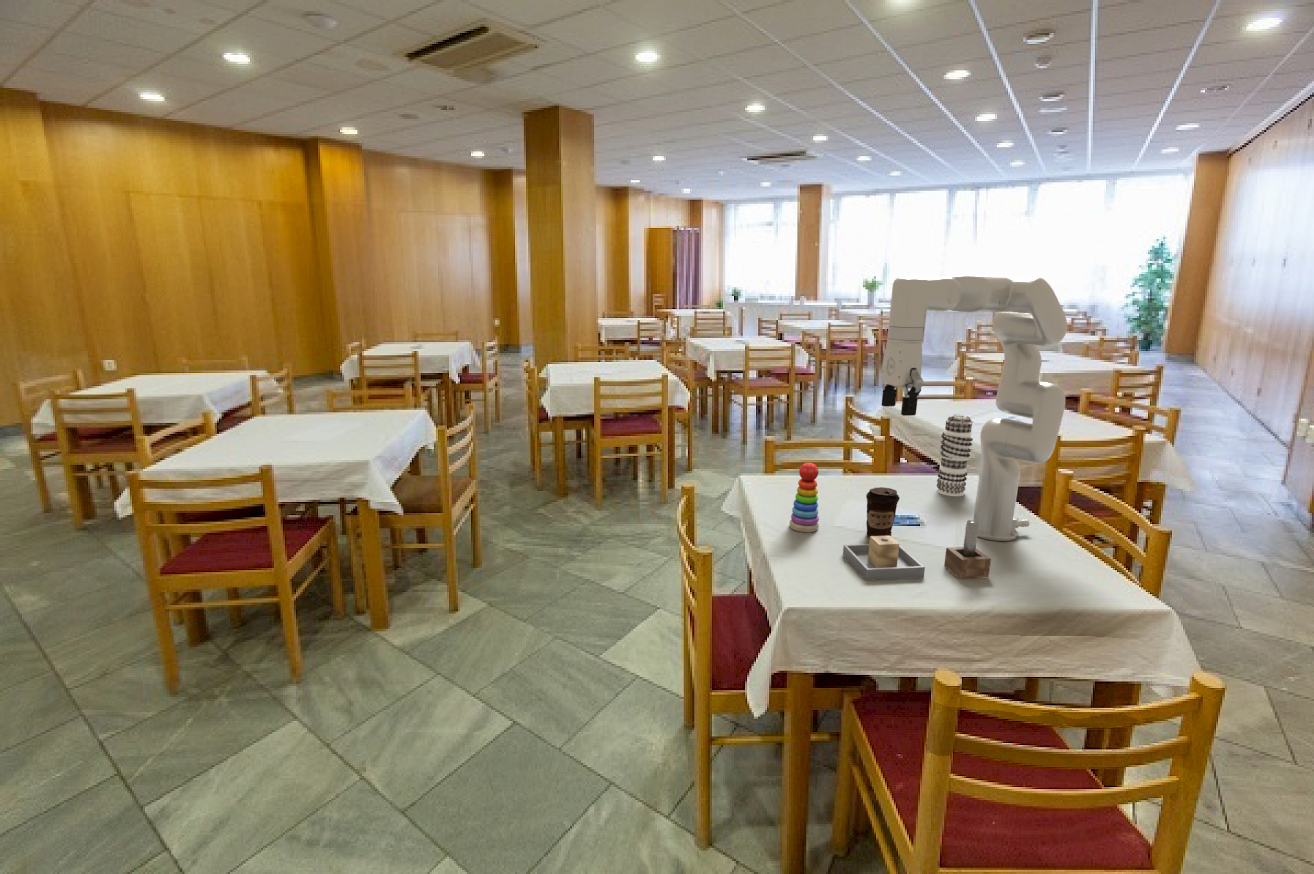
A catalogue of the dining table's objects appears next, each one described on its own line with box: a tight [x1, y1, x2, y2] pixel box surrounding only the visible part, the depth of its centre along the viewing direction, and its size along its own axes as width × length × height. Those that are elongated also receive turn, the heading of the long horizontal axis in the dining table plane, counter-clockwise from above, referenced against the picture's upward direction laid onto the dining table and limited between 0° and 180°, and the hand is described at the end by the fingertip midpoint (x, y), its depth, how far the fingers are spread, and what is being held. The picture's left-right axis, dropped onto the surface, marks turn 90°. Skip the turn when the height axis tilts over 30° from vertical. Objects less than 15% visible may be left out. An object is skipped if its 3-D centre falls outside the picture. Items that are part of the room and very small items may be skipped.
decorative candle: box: [935, 414, 974, 497], centre depth 211 cm, size 9×9×25 cm
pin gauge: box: [962, 519, 979, 557], centre depth 156 cm, size 3×3×12 cm
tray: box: [842, 543, 926, 581], centre depth 160 cm, size 14×14×3 cm
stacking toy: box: [789, 462, 820, 533], centre depth 181 cm, size 8×8×19 cm
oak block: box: [868, 535, 900, 568], centre depth 160 cm, size 5×5×6 cm
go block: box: [943, 546, 992, 580], centre depth 157 cm, size 7×7×5 cm
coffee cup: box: [865, 487, 900, 539], centre depth 176 cm, size 9×8×13 cm
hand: (898, 410), depth 151 cm, fingers open, 9 cm apart
